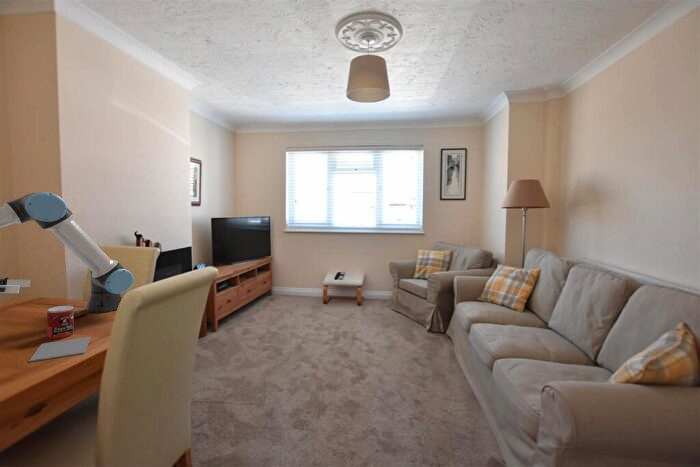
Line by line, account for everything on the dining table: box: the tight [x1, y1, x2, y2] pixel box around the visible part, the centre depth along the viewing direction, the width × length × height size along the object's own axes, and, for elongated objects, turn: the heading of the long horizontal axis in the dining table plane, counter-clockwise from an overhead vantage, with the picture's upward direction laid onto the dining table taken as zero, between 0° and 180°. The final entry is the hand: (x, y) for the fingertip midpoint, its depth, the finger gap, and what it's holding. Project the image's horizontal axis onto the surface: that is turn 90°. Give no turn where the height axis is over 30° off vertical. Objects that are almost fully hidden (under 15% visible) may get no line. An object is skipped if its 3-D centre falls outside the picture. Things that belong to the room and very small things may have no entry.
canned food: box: [46, 305, 75, 340], centre depth 127 cm, size 8×8×11 cm
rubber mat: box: [28, 336, 91, 363], centre depth 115 cm, size 16×14×1 cm
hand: (25, 286), depth 121 cm, fingers open, 13 cm apart
